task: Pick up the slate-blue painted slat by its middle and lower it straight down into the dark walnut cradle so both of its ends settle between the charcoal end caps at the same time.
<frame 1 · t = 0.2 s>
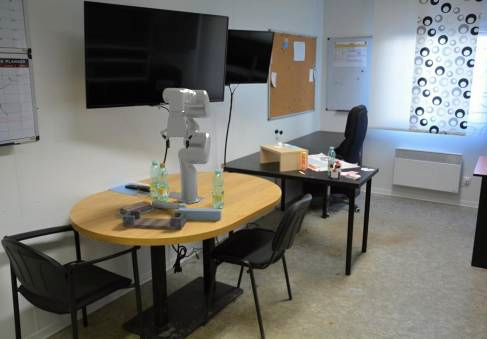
hand: (177, 148, 217), 36 cm above the table, tool pointing down, fingers open, 9 cm apart
slat: (199, 218, 221), on the table
grey long bar: (170, 211, 232), on the table
cradle: (155, 224, 212), on the table
grey brown block: (135, 213, 229), on the table
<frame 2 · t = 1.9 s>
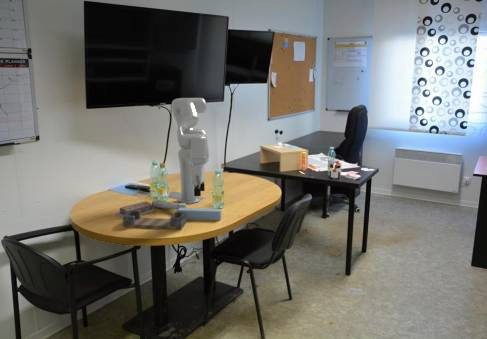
hand: (199, 193, 217), 14 cm above the table, tool pointing down, fingers open, 9 cm apart
nothing on the table moved.
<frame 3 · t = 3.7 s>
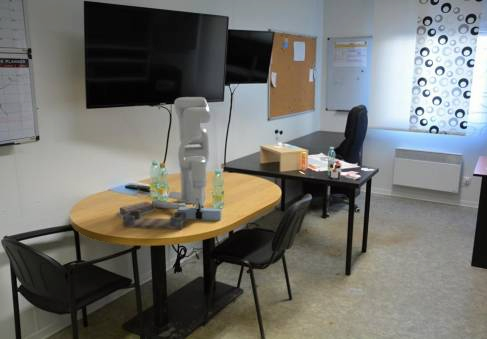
hand: (199, 216, 221), 1 cm above the table, tool pointing down, fingers closed on slat, 4 cm apart
slat: (199, 218, 221), on the table, touching gripper
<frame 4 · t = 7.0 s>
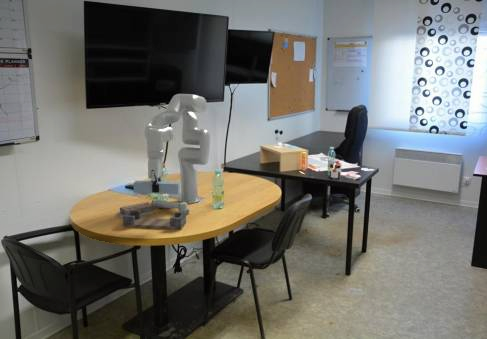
hand: (157, 190, 208), 18 cm above the table, tool pointing down, fingers closed on slat, 4 cm apart
slat: (157, 192, 208), point 17 cm above the table, touching gripper
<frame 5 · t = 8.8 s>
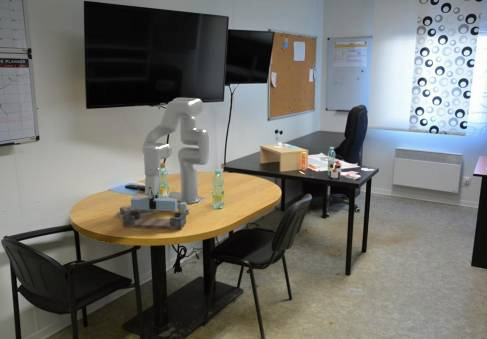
hand: (154, 207, 209), 9 cm above the table, tool pointing down, fingers closed on slat, 4 cm apart
slat: (154, 208, 209), point 8 cm above the table, touching gripper
when the fingers open (3 cm above the table, at t = 10.3 s): slat stays where it is, resting on cradle.
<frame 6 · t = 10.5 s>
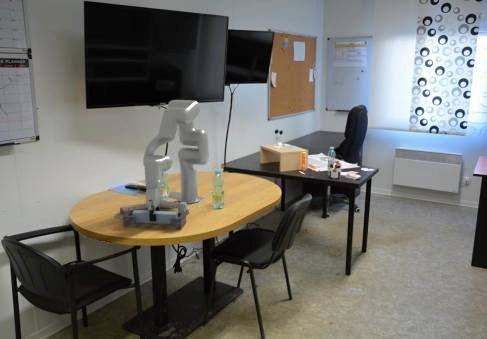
hand: (155, 218, 211), 3 cm above the table, tool pointing down, fingers open, 6 cm apart
slat: (155, 221, 211), point 1 cm above the table, touching cradle
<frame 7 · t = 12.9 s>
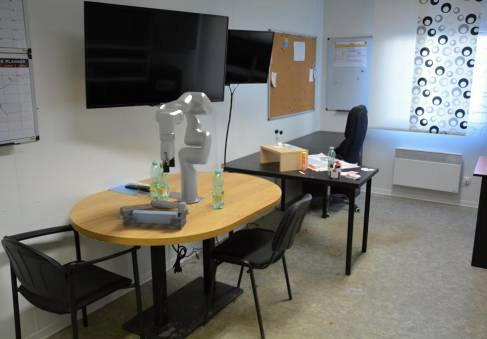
hand: (169, 169, 216), 25 cm above the table, tool pointing down, fingers open, 9 cm apart
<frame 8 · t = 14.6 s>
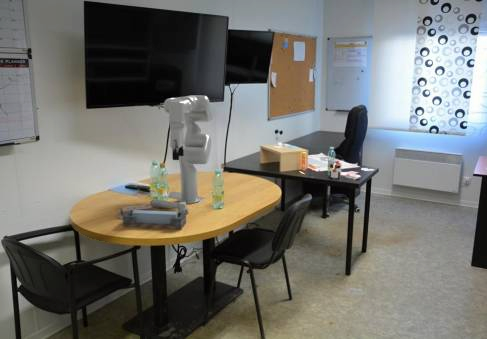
hand: (178, 157, 221), 30 cm above the table, tool pointing down, fingers open, 9 cm apart
at the end: slat 0.1 cm off-centre on the cradle, point 1.5 cm above the cradle's base; slat tilted 0°; the gripper is holding nothing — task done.
